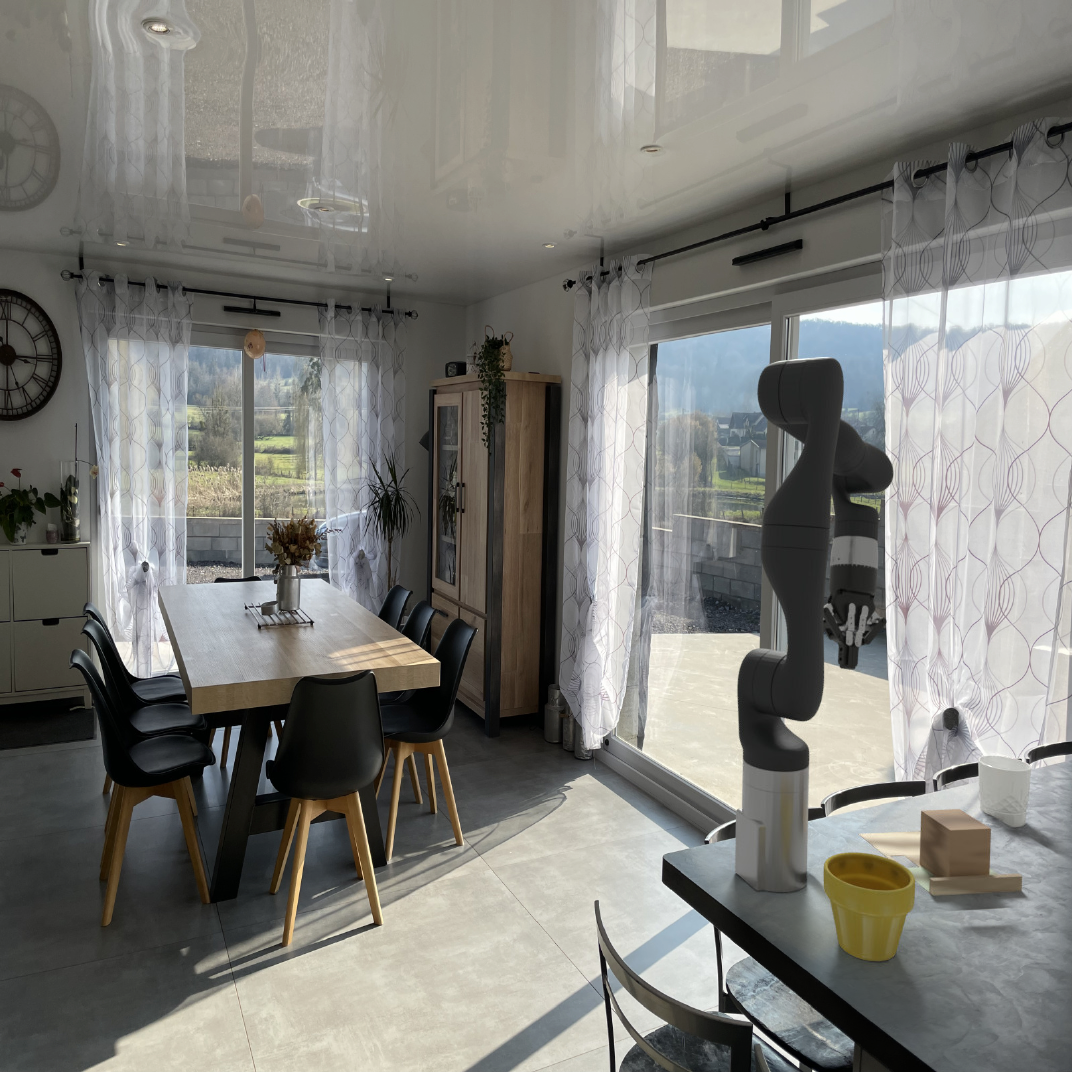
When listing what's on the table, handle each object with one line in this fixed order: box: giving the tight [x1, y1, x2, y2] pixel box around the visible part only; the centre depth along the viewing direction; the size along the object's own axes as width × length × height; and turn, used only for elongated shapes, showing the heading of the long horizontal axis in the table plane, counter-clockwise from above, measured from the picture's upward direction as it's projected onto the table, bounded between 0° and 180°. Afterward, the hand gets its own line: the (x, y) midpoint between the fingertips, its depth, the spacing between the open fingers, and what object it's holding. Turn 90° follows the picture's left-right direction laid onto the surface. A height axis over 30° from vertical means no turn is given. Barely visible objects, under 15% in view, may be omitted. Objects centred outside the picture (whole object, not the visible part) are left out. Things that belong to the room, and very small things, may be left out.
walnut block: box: [919, 808, 992, 878], centre depth 116 cm, size 7×6×8 cm
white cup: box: [977, 755, 1032, 828], centre depth 139 cm, size 8×8×10 cm
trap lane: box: [858, 830, 1023, 897], centre depth 120 cm, size 20×13×4 cm, turn 6°
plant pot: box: [823, 851, 916, 962], centre depth 100 cm, size 10×10×10 cm
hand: (847, 668), depth 134 cm, fingers closed
